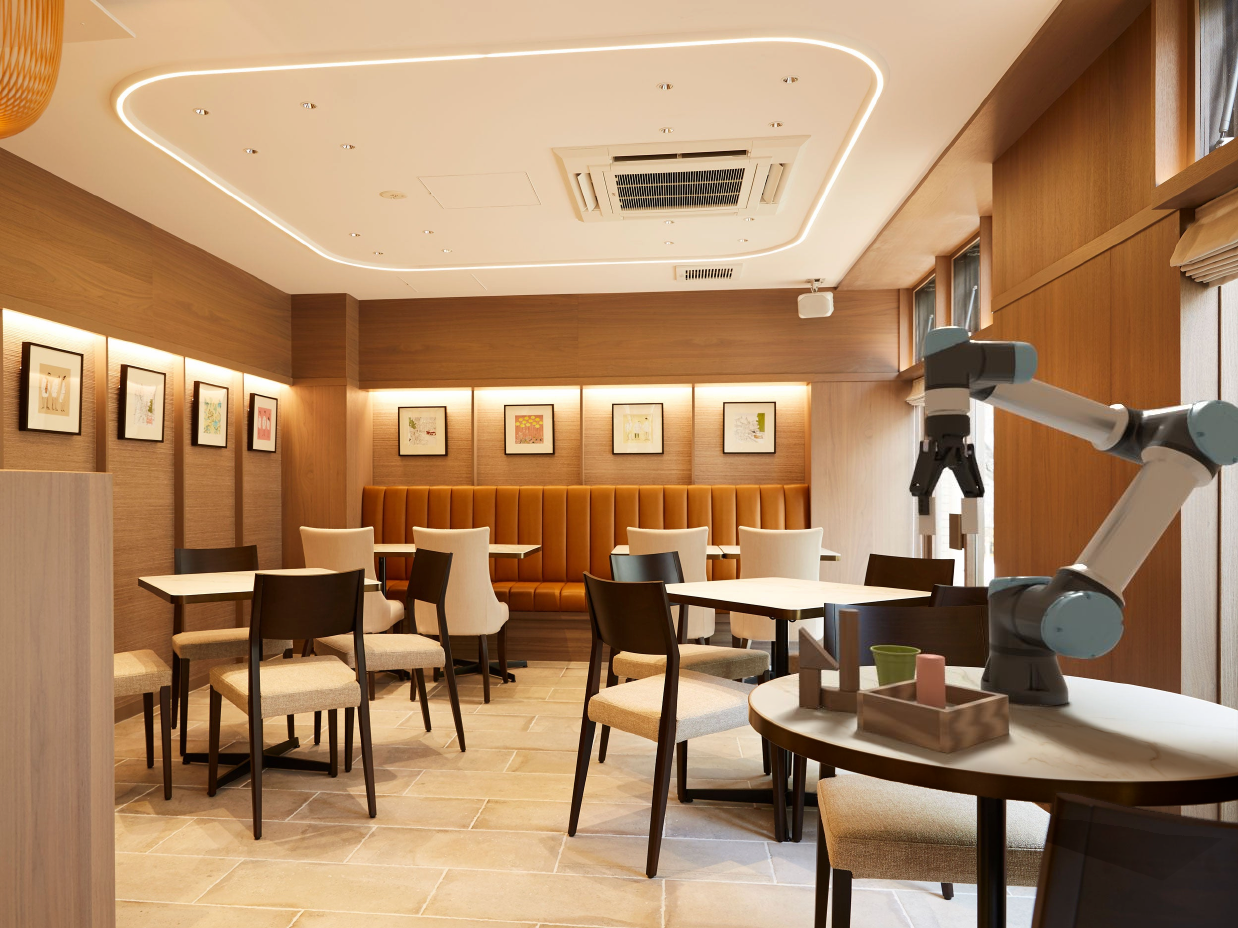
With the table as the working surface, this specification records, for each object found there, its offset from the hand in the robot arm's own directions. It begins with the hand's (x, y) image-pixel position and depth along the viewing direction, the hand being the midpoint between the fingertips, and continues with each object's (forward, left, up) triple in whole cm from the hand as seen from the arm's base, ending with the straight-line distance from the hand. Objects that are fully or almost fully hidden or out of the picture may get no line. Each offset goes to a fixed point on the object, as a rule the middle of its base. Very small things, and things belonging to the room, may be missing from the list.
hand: (949, 534), depth 139 cm
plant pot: (-7, -16, -32) cm, 36 cm away
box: (+11, +3, -32) cm, 34 cm away
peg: (+11, +3, -32) cm, 34 cm away
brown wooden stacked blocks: (+13, -16, -32) cm, 38 cm away
